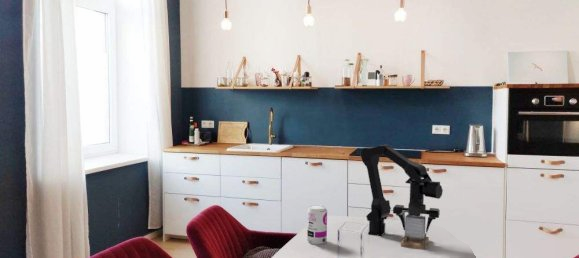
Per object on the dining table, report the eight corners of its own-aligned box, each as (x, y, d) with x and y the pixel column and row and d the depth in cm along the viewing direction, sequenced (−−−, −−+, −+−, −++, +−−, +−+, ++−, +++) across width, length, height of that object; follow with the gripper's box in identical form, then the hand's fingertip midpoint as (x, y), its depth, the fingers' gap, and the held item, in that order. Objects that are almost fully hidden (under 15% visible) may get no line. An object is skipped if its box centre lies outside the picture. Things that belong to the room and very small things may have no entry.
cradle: (400, 246, 201) (401, 239, 201) (405, 237, 213) (405, 231, 213) (425, 249, 198) (425, 242, 197) (428, 240, 210) (428, 233, 209)
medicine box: (425, 236, 206) (425, 216, 205) (423, 239, 202) (424, 218, 201) (406, 233, 209) (407, 214, 208) (404, 236, 205) (405, 216, 204)
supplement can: (328, 240, 208) (329, 206, 207) (323, 245, 200) (324, 210, 199) (310, 238, 211) (311, 204, 210) (304, 243, 203) (305, 208, 202)
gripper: (391, 196, 200) (390, 233, 201) (438, 200, 193) (436, 239, 194) (395, 191, 210) (394, 226, 211) (440, 195, 203) (438, 231, 204)
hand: (415, 231), depth 205 cm, fingers open, 9 cm apart
